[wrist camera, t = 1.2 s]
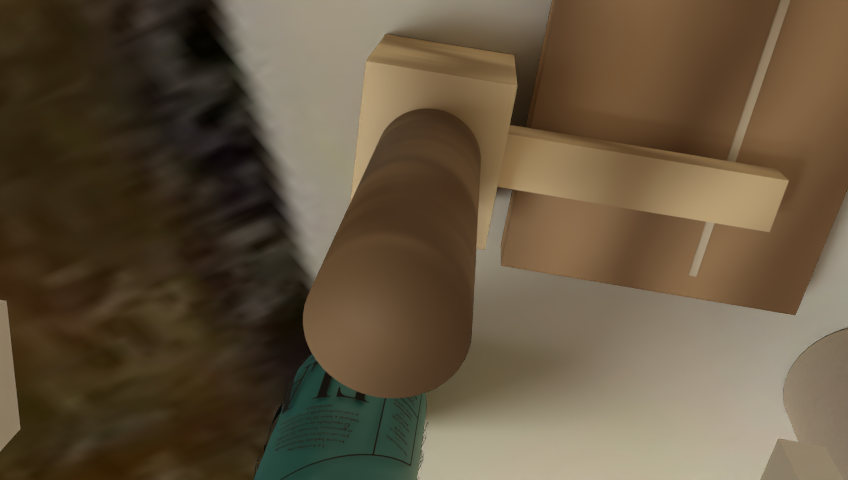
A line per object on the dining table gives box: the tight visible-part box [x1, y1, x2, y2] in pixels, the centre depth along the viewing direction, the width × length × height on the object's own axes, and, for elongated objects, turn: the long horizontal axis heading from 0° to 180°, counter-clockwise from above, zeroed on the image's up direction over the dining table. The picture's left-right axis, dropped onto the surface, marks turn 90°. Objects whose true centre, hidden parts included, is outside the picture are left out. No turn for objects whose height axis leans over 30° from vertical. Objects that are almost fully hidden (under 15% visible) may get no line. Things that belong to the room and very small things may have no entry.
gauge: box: [303, 34, 789, 398], centre depth 23 cm, size 15×6×16 cm, turn 82°
